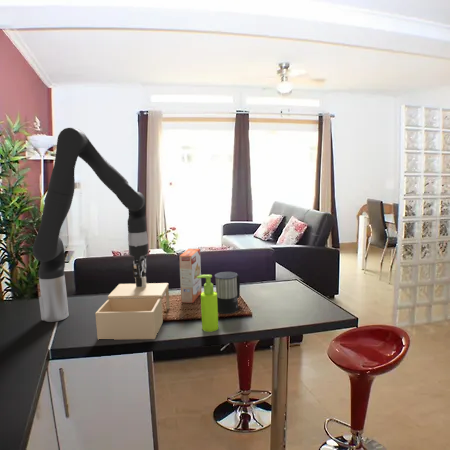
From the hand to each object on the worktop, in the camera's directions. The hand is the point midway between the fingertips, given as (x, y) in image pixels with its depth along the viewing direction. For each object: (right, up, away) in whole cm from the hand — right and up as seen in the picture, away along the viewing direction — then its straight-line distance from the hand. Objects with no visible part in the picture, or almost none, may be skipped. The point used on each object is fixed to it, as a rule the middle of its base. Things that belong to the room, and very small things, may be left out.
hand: (141, 284), depth 158 cm
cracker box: (+19, -9, +17) cm, 27 cm away
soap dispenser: (+28, -14, -15) cm, 34 cm away
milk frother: (+32, -10, +5) cm, 34 cm away
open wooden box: (0, -13, -8) cm, 16 cm away
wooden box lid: (0, -2, -3) cm, 4 cm away
